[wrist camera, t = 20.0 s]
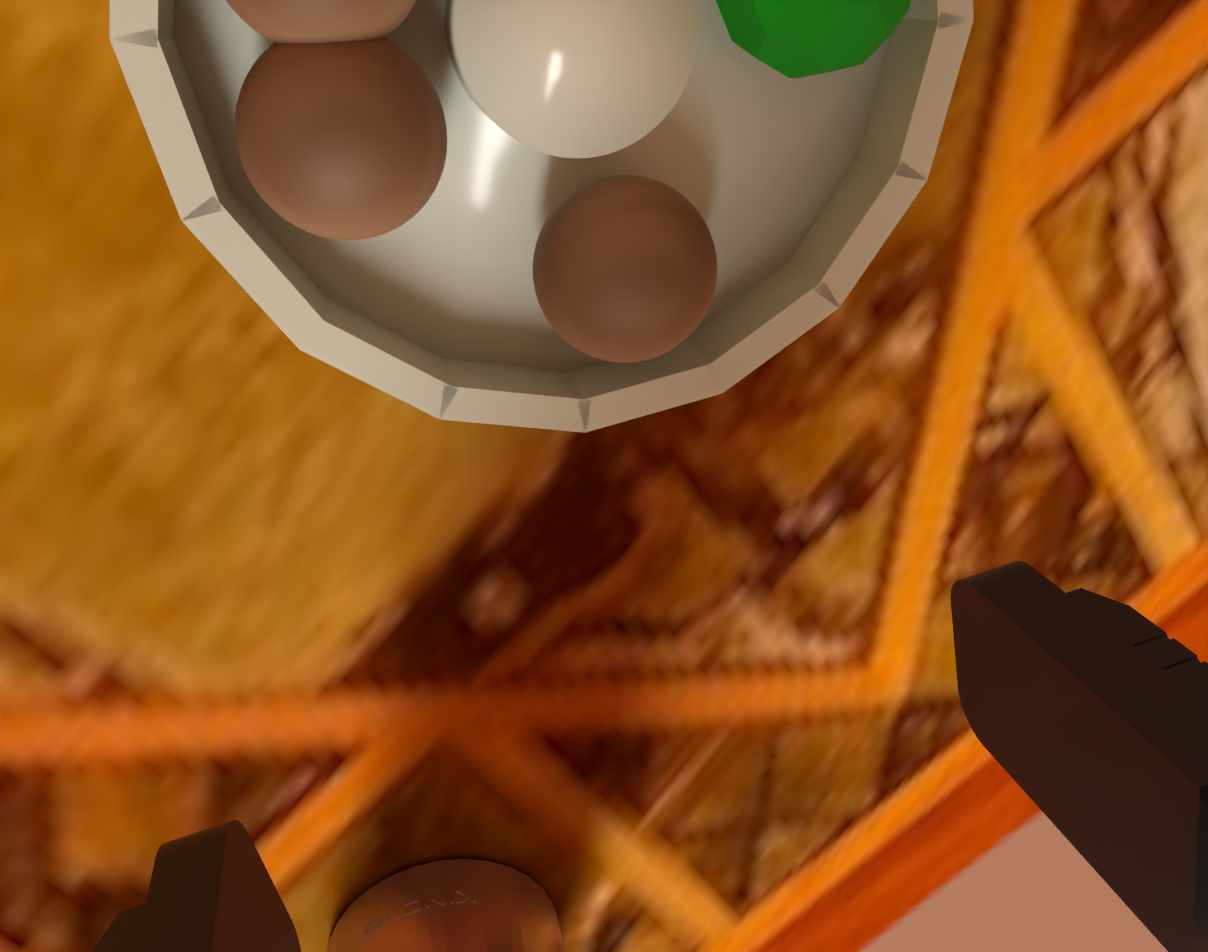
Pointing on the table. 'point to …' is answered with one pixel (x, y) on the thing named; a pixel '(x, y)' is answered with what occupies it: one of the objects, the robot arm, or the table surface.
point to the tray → (559, 189)
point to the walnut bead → (624, 268)
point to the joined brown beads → (338, 117)
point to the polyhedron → (811, 31)
